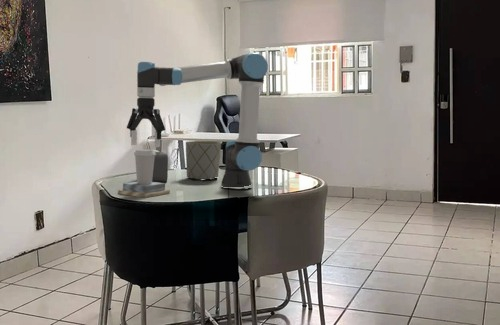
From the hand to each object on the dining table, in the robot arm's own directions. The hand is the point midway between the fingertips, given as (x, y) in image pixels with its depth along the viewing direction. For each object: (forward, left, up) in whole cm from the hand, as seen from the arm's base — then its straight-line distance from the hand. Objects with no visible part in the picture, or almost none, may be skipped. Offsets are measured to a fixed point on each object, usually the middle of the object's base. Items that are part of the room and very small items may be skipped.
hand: (145, 146), depth 251 cm
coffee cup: (0, 0, -17) cm, 17 cm away
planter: (+11, -59, -22) cm, 64 cm away
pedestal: (0, 0, -21) cm, 21 cm away
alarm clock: (+25, -35, -22) cm, 48 cm away
